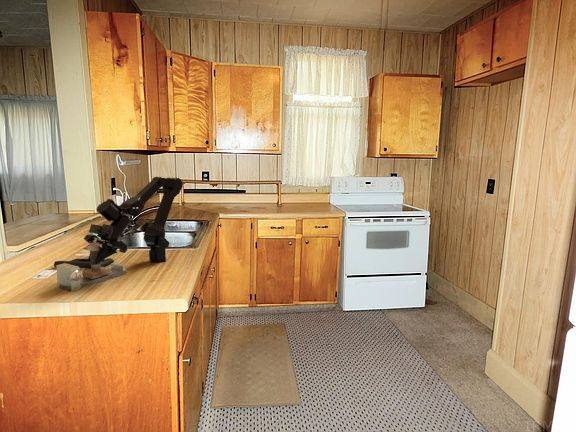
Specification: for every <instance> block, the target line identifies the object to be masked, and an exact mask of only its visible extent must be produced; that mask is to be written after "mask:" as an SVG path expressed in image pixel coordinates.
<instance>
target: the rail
mask: <svg viewBox="0 0 576 432" xmlns="http://www.w3.org/2000/svg"><path fill="white" fill-rule="evenodd" d="M110 267H111V268H109V269H110V274H108V275H104V276H101V277H98V278H94V279H91V278H87V277H83V276H82V271H81V270H80V269H79V267H78V266H74V265H70V264H66V263H64V264H60V265H56V267H55V268H56V275H57V287H58V288H59V289H63V290H66V291H69V292H74V291H77V290H81V289H83V288H86V287H89V286H91V285H95V284H99V283H101V282H105V281H107V280H108V281H109V280H111V279H114V278H117V277H120V276H123V275H127V269H126V265H124V264H121V263H116V262H113V263H111V264H110Z"/></svg>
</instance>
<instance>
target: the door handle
mask: <svg viewBox="0 0 576 432" xmlns="http://www.w3.org/2000/svg"><path fill="white" fill-rule="evenodd" d="M88 258H89V256H85V257H83V258H74V259H71V260H55V261H54V262H53V267H54V268H57V267H56V265H60V264H64V263H66V264H70V265H74V266H78V267H79V270H88V269H91V262H89V261H88ZM111 263H115V260H114V259H113V258H109V257H107V258H105V259H104V260H102V261H101V263H100V266H101V267H107V266H109V265H111Z"/></svg>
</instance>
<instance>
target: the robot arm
mask: <svg viewBox="0 0 576 432" xmlns="http://www.w3.org/2000/svg"><path fill="white" fill-rule="evenodd" d="M183 185H184V183H183V180H182V179H181V178H179V177H163V176H154V177H152V179H151V181H149V182H148V183H147V185H146V186H144V187H143V188H141V190H140V191H139V192H138V193H137V194H136V195H134V196H132V197H129V198H127V199H126V200H124V201H123V202H122V203H121V204H119V205H118V204H117V203H116V202H115V201H114V199H111V198H108V199H106V200H104V201H103V202H101V203H99V204H98V206H97V208H96V212H97V213H99V215H101V217H103V218H104V219H105V220H106V221H107V222H110V224H106V223H105V224H104V223H103V224H102V225H99V224H93V223H91V224H90V227H89V230H88V234H86V235H85V236H84V238H83V240H84V241H86V242H87V243H88V244H90V243H94V242H98V243H99V249H100V253H99V254H98V256H97V258H96V259H95V261H94V263H96V264H97V263H99V262H100V261H102V260H104V259H108V258H109V257H111V256H112V255H114V254H117V253H118V250H119V253H123V254H126V252H127V251H128V248H129V247H128V244H126V243H125V242H124V241H123V240H121V239H120V238H123V237H124V236H125V234H124V232H125V231H126V229H127V228H128V227H129V226H135V222H134V219H133V218H130V217H138V216H140V215H141V213H142V212H143V210H144V208H145V204H146V203H147V202H148V201H149V200H150V199H151V198H152V197H153V196H155V195H156V194H157V192H158V191H159V190H161V189H162V198H161V200H160V203H159V206H158V209H157V211H156V214H155V217H154V220H153V223H152V224H151V225H147V226H146V227H145V231H144V232H143V234H142V235H143V240H144V243H145V244H146V247H147V248H149V251H148V260H149V263H163V262H167V253H166V249H167V248H169V247H170V242H169V240H167V239H166V229H165V226H166V224H167V220H168V217H169V214H170V212H171V209H172V205H173V203H174V201H175V198H176V197H177V196H178V195H179V194H180V193H181V190H182V189H183ZM88 257H89V258H88V261H89V262H91V261H90V254H89V256H88Z"/></svg>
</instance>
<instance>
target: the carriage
mask: <svg viewBox="0 0 576 432" xmlns="http://www.w3.org/2000/svg"><path fill="white" fill-rule="evenodd" d="M99 253H100V249H99V243H98V242H94V243H89V255H90V261H91V269H83V270H82V271H81V277H87V278H91V279H94V278H98V277H101V276H104V275H108V274H110V268H108V267H106V266H104V267H101V266H100V263H101V261H100V262H99V263H97V264H96V263H94V261H95V259H96V258H97V256H98V254H99Z"/></svg>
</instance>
